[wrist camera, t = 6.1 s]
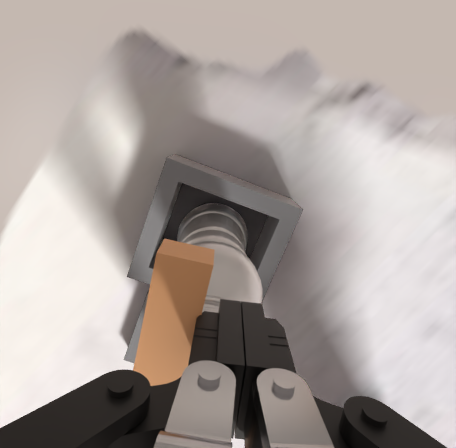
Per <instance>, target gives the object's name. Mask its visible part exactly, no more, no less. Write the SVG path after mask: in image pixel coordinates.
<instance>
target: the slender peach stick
mask: <svg viewBox="0 0 456 448" xmlns="http://www.w3.org/2000/svg"><path fill="white" fill-rule="evenodd" d="M214 252H215V250H214V249H209V248H205V247H200V246H196V245H191V244H187V243H182V242H178V241H173V240H169V239H164V240H163V242H162V244H161V246H160V248H159V249H158V251H157V253H156V258H155V263H154V268H153V273H152V278H151V283H150V288H149V293H148V298H147V303H146V308H145V313H144V318H143V323H142V328H141V333H140V338H139V343H138V348H137V353H136V358H135V363H134V368H133V371H136V372H139V373H141V374H142V375H144V376H145V377H146V378H147V379H148V381H149V383H150V386H155V385H162V384H167V383H170V382H173V381H175V380H177V379H178V378H180V377H181V376H182V374H183V371H184V370H185V368H186V367H188V363H189V357H190V352H191V346H192V341H193V335H194V329H195V324H196V318H197V317H198V316H199V315H202V310H203V306H204V302H205V298H206V294H207V290H208V286H209V282H210V278H211V274H212V270H213V266H214Z"/></svg>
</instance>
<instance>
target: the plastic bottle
mask: <svg viewBox="0 0 456 448" xmlns="http://www.w3.org/2000/svg"><path fill="white" fill-rule="evenodd" d="M177 241H178V242H182V243H187V244H191V245H196V246H200V247H205V248H209V249H214V250H215V252H214V266H213V270H212V274H211V278H210V282H209V286H208V290H207V294H206V298H205V302H204V306H203V310H202V312H204V311H208V312H216V313H218V311H219V304H220V299H226V300H235V301H244V302H252V303H262V285H261V280H260V277H259V275H258V273H257V270H256V268H255V266H254V265H253V263H252V262H251V260H250V259H249V258H248V256H247V255H246V253H245V251H246V246H247V241H248V232H247V227H246V225H245V222H244V220H243V219H242V217H241V216H240V215H239V214H238V213H237V212H236V211H235V210H234V209H232V208H230V207H229V206H226V205H224V204H220V203H208V204H204V205H201V206H199V207H196V208H194V209H193V210H192V211H190V212H189V213H188V214H187V215H186V216H185V217H184V219H183V220H182V222H181V224H180V226H179V229H178V233H177Z"/></svg>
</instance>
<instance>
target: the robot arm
mask: <svg viewBox="0 0 456 448" xmlns="http://www.w3.org/2000/svg"><path fill="white" fill-rule="evenodd" d="M234 430H235V438H237V439H245V448H447V447H445V446H444V445H442V444H441V443H440V442H438V441H437V440H435V439H434V438H432V437H431V436H430V435H428V434H427V433H425V432H424V431H422V430H421V429H420V428H418V427H417V426H415V425H414V424H412V423H411V422H410V421H408V420H407V419H405V418H404V417H402V416H401V415H400V414H398V413H397V412H395V411H394V410H392V409H391V408H390V407H388V406H387V405H385V404H383V403H382V402H380V401H377V400H375V399H372V398H369V397H363V396H356V397H352V398H349V399H348V400H347V401H346V402H345V404H344V408H341V407H338V406H335V405H332V404H329V403H326V402H324V401H321V400H319V399H317V398H316V397H314V396H313V395H312V393H311V390H310V388H309V386H308V384H307V383H306V381H305V380H304V379H303V378H301V377H300V376H299V375H297V374H296V370H295V367H294V363H293V360H292V356H291V352H290V349H289V345H288V342H287V339H286V334H285V331H284V328H283V327H282V326H281V325H280V324H279V322H278V321H277V320H276V319H269V318H265V317H264V312H263V307H262V304H261V303H252V302H244V301H235V300H226V299H220V304H219V311H218V313H216V312H208V311H204V312H202V315H199V316H198V317H197V318H196V324H195V329H194V335H193V341H192V346H191V352H190V357H189V363H188V367H186V368H185V370H184V371H183V374H182V376H181V377H180V378H178V379H177V380H175V381H173V382H170V383H167V384H162V385H155V386H150V383H149V381H148V379H147V378H146V377H145V376H144V375H142V374H141V373H139V372H136V371H132V370H116V371H112V372H109V373H106V374H104V375H102V376H100V377H98V378H96V379H94V380H92V381H90V382H88V383H87V384H85V385H83V386H81V387H79V388H77V389H75V390H73V391H71V392H69V393H67V394H65V395H63V396H62V397H60V398H58V399H56V400H54V401H52V402H50V403H48V404H46V405H44V406H42V407H40V408H38V409H36V410H35V411H33V412H31V413H29V414H27V415H25V416H23V417H21V418H19V419H17V420H15V421H13V422H11V423H10V424H8V425H6V426H4V427H2V428H0V448H232V442H231V438H233V436H234Z"/></svg>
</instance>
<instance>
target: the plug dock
mask: <svg viewBox="0 0 456 448" xmlns="http://www.w3.org/2000/svg"><path fill="white" fill-rule="evenodd" d="M182 183H184V184H186V185H189V186H192V187H194V188H197V189H200V190H202V191H205V192H208V193H210V194H213V195H215V196H218V197H221V198H223V199H226V200H229V201H231V202H234V203H237V204H239V205H242V206H245V207H247V208H250V209H253V210H255V211H258V212H261V213H263V214H266V215H268V217H267V219H266V222H265V224H264V226H263V229H262V231H261V234H260V236H259V238H258V241H257V243H256V245H255V248H254V250H253V252H252V255H251V257H250V260H251V262H252V263H253V265H254V266H255V268H256V270H257V273H258V275H259V277H260V280H261V285H262V301H263V298H264V296H265V294H266V292H267V289H268V287H269V285H270V283H271V280H272V278H273V276H274V274H275V272H276V269H277V267H278V265H279V263H280V260H281V258H282V256H283V254H284V251H285V249H286V247H287V245H288V242H289V240H290V238H291V236H292V233H293V231H294V229H295V227H296V225H297V222H298V220H299V218H300V216H301V213H302V211H303V209H302V208H301V207H300V206H299V205H298V204H297V203H296V202H294V201H293V200H292V199H291V198H288V197H286V196H283V195H280V194H278V193H275V192H273V191H270V190H267V189H265V188H262V187H260V186H257V185H254V184H252V183H249V182H247V181H244V180H241V179H239V178H236V177H234V176H231V175H228V174H226V173H223V172H221V171H218V170H215V169H213V168H210V167H208V166H205V165H202V164H200V163H197V162H195V161H192V160H189V159H187V158H184V157H182V156H179V155H176V154H174V155H172V156H169V157H167V158H166V161H165V164H164V167H163V170H162V173H161V176H160V179H159V182H158V185H157V188H156V191H155V194H154V197H153V200H152V203H151V206H150V209H149V212H148V215H147V218H146V221H145V224H144V227H143V230H142V233H141V236H140V239H139V242H138V245H137V248H136V251H135V254H134V257H133V260H132V263H131V266H130V269H129V272H128V275H127V277H129V278H132V279H135V280H138V281H141V282H143V283H146V284H149V285H150V283H151V278H152V273H153V268H154V263H155V258H156V253H157V251H158V249H159V247H160V244H161V241H162V238H163V236H164V233H165V230H166V227H167V224H168V221H169V219H170V216H171V213H172V210H173V207H174V204H175V201H176V199H177V196H178V193H179V190H180V187H181V184H182ZM148 293H149V291H148ZM148 293H147V296H146V298H145V301H144V304H143V307H142V310H141V312H140V315H139V318H138V321H137V324H136V326H135V329H134V332H133V335H132V338H131V341H130V343H129V346H128V349H127V352H126V355H125V357H124V360H126V361H129V362H132V363H135V358H136V353H137V348H138V343H139V338H140V333H141V328H142V323H143V318H144V313H145V308H146V303H147V298H148Z"/></svg>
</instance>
